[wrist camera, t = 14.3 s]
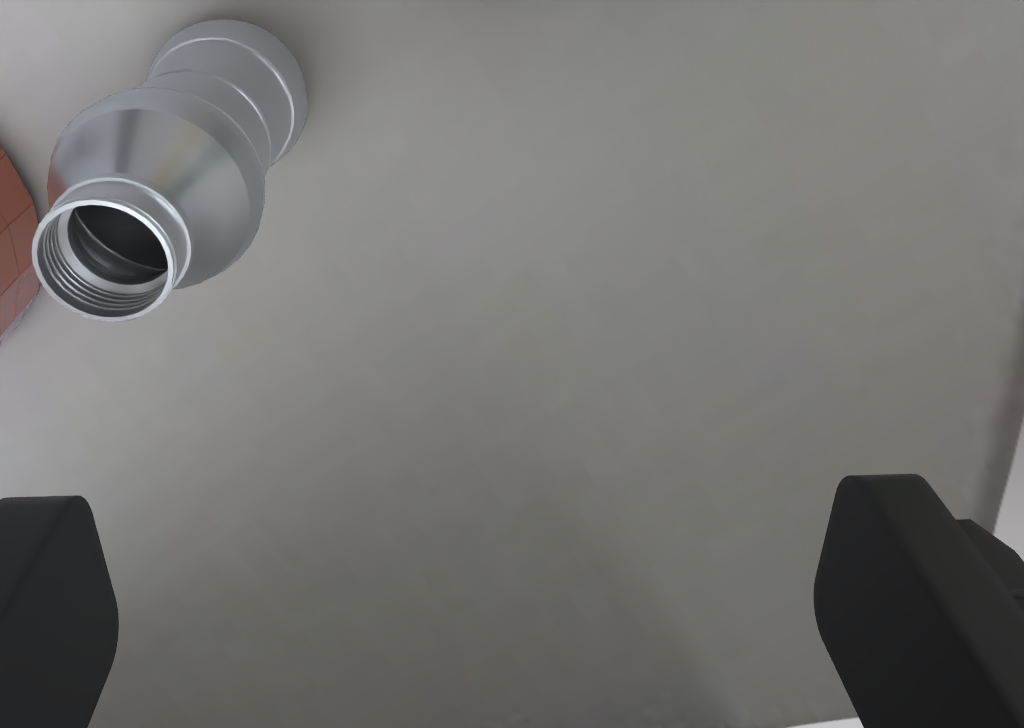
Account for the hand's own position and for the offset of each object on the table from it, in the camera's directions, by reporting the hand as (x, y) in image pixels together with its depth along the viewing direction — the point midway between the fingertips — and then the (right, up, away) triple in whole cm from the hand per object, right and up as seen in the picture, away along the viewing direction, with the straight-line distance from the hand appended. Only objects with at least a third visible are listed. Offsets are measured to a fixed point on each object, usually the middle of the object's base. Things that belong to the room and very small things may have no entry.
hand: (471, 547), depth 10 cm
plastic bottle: (-12, +15, +32) cm, 37 cm away
